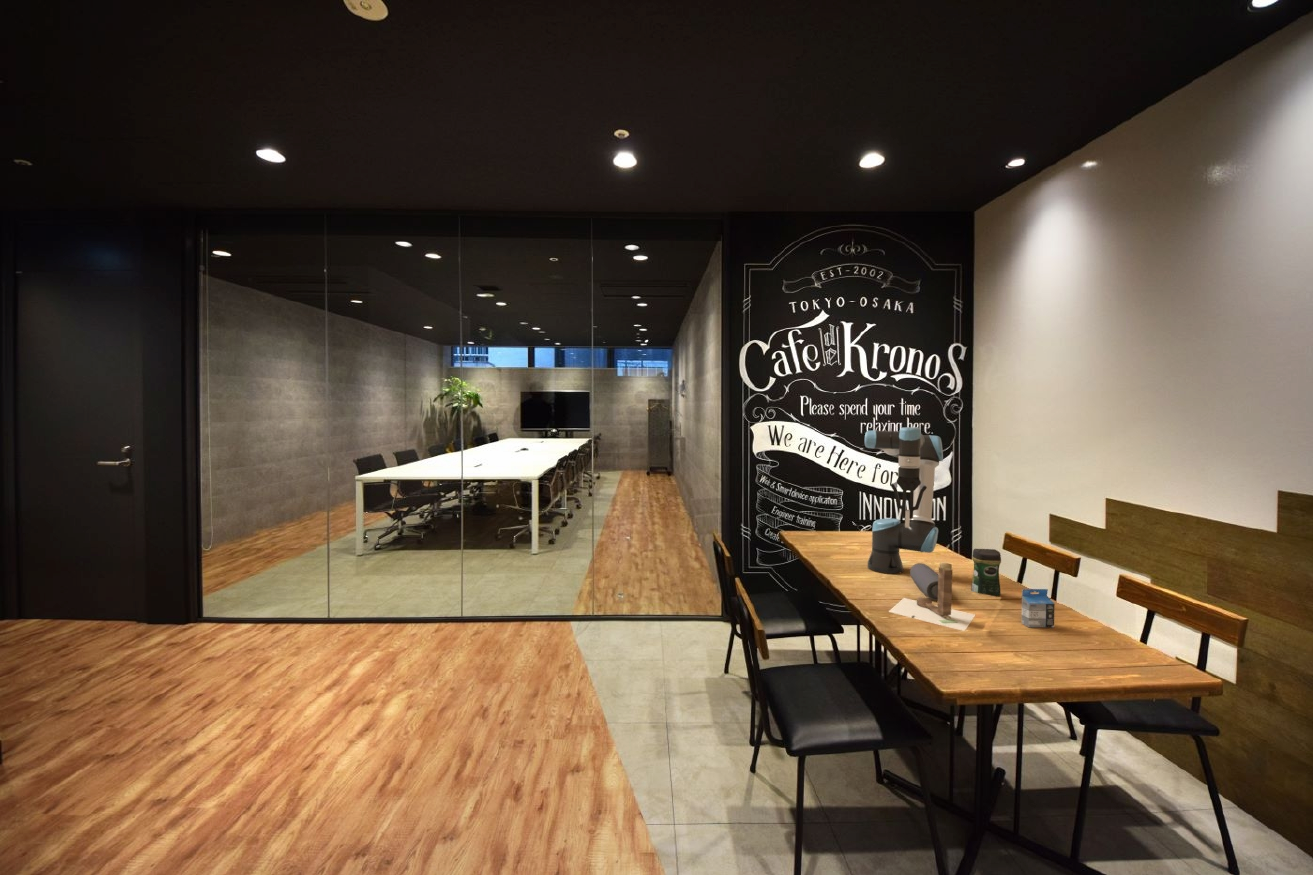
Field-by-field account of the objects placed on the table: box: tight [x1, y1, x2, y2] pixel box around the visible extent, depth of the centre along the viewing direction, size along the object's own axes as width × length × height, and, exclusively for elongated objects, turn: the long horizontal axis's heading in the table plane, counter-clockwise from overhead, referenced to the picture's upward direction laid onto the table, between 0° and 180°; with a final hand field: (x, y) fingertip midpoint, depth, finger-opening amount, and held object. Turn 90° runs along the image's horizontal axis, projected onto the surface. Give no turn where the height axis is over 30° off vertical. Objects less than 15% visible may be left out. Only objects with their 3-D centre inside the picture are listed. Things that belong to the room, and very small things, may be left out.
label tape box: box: [1020, 588, 1056, 628], centre depth 177 cm, size 9×4×12 cm, turn 89°
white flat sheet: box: [888, 597, 976, 632], centre depth 184 cm, size 24×18×2 cm
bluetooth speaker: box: [909, 562, 939, 602], centre depth 206 cm, size 23×9×10 cm, turn 168°
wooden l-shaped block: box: [916, 562, 953, 619], centre depth 185 cm, size 16×5×19 cm, turn 6°
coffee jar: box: [970, 548, 1002, 598], centre depth 206 cm, size 10×8×19 cm
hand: (907, 526), depth 201 cm, fingers closed
